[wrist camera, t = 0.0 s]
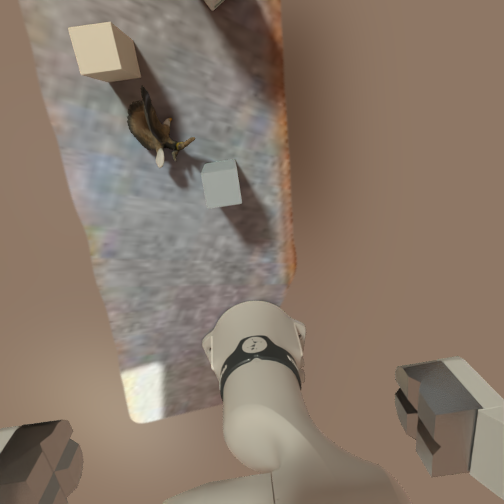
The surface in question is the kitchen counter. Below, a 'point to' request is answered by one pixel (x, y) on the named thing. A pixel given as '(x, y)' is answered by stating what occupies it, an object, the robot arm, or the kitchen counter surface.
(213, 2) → the syrup box
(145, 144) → the brown animal figure
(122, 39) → the cream block
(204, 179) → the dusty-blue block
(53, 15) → the kitchen counter surface
